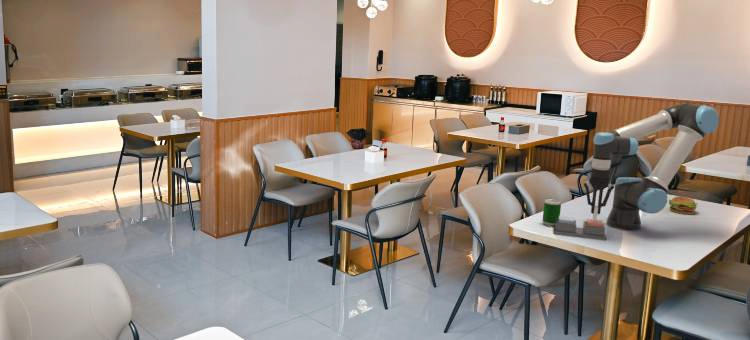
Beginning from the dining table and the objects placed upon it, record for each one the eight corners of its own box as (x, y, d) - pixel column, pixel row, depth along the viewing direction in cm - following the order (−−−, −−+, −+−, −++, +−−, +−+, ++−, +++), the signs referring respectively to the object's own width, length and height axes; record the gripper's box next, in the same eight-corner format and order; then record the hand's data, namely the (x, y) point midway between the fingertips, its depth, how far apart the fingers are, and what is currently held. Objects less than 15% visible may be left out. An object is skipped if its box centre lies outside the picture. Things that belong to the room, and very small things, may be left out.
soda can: (559, 227, 304) (562, 202, 302) (542, 226, 305) (545, 200, 303) (558, 223, 311) (560, 198, 309) (541, 221, 313) (544, 197, 310)
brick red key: (601, 226, 295) (601, 220, 295) (602, 230, 289) (602, 224, 289) (586, 225, 297) (586, 218, 296) (586, 229, 291) (587, 222, 290)
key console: (604, 233, 298) (605, 222, 297) (605, 240, 287) (607, 229, 286) (553, 227, 303) (554, 217, 302) (553, 234, 293) (554, 223, 292)
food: (698, 211, 349) (700, 196, 348) (694, 216, 338) (696, 201, 336) (669, 206, 356) (671, 192, 355) (665, 211, 345) (667, 196, 343)
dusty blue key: (573, 223, 298) (573, 217, 298) (573, 227, 292) (574, 220, 292) (558, 222, 300) (558, 215, 299) (558, 225, 294) (559, 219, 293)
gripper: (615, 168, 290) (609, 220, 295) (584, 165, 293) (578, 217, 298) (617, 171, 283) (610, 224, 287) (585, 168, 286) (579, 221, 291)
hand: (594, 220), depth 293 cm, fingers closed
